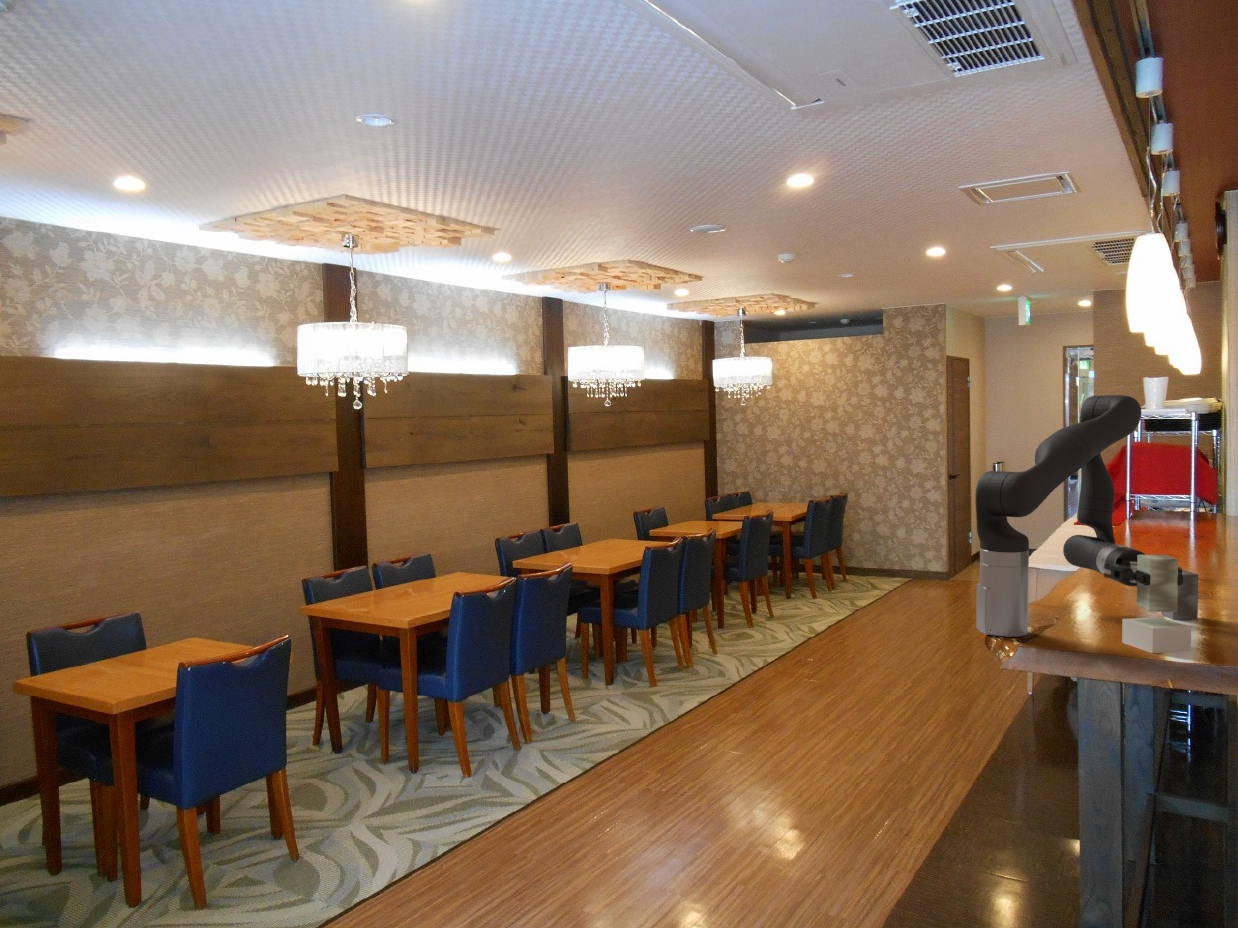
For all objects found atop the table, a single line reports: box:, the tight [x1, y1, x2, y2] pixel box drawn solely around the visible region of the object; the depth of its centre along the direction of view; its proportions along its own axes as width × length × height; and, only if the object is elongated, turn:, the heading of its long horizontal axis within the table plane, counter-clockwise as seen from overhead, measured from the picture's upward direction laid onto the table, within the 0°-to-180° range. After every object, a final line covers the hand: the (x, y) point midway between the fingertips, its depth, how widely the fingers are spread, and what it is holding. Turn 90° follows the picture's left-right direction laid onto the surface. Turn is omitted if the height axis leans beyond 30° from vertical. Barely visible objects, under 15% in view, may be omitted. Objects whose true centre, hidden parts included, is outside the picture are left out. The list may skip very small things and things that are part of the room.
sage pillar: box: [1136, 554, 1179, 613], centre depth 169 cm, size 5×5×10 cm
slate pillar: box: [1160, 570, 1199, 621], centre depth 193 cm, size 5×5×10 cm
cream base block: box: [1121, 616, 1192, 654], centre depth 169 cm, size 8×8×5 cm
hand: (1164, 580), depth 166 cm, fingers closed on sage pillar, 5 cm apart
